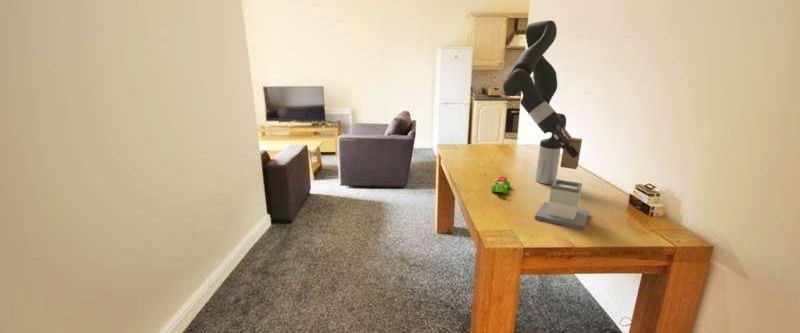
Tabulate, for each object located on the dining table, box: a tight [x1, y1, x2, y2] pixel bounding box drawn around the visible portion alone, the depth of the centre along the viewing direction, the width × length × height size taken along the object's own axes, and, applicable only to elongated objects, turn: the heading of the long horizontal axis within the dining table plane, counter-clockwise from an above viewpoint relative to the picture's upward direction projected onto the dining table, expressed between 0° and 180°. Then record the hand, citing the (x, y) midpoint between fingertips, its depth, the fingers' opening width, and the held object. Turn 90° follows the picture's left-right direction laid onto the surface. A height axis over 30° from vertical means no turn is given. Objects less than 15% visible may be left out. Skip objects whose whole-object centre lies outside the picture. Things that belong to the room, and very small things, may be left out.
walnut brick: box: [560, 137, 583, 170], centre depth 126 cm, size 5×5×10 cm
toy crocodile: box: [491, 175, 511, 194], centre depth 161 cm, size 20×7×6 cm, turn 156°
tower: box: [534, 178, 590, 231], centre depth 131 cm, size 16×16×13 cm
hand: (576, 154), depth 125 cm, fingers closed on walnut brick, 5 cm apart
